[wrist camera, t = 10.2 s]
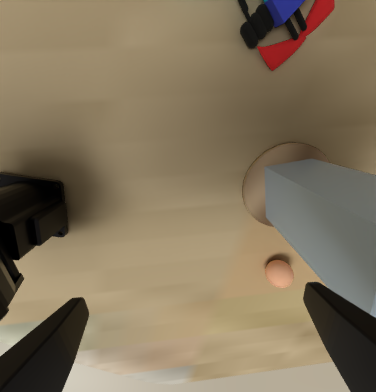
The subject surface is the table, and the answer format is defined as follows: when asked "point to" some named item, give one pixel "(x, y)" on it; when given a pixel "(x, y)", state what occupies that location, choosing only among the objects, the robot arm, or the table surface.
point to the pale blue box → (328, 223)
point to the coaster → (256, 174)
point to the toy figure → (276, 15)
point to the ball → (279, 273)
